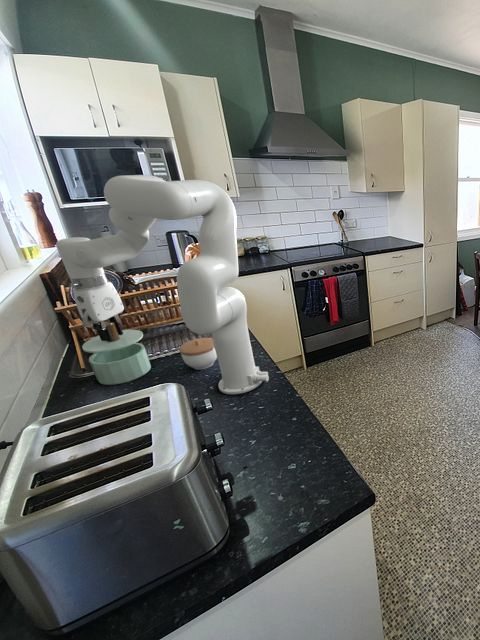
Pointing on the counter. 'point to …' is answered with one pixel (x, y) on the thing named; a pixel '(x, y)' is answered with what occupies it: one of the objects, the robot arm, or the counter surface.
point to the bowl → (120, 364)
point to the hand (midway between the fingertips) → (112, 337)
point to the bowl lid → (117, 343)
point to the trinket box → (198, 353)
